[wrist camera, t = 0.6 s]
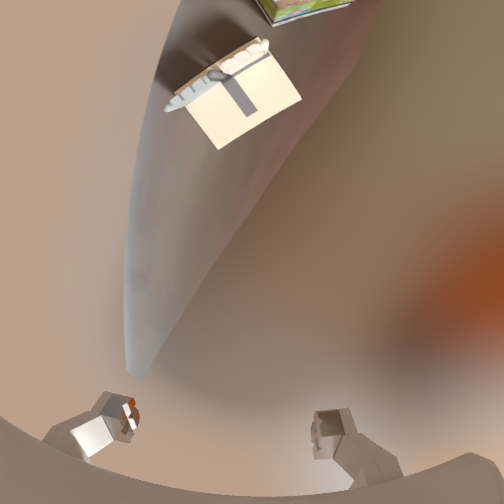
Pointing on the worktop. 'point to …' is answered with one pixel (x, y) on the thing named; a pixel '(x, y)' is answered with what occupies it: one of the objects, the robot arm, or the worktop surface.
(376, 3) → the worktop surface
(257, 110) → the card
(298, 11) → the tea box
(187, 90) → the blue-grey fence panel
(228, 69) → the white fence panel
